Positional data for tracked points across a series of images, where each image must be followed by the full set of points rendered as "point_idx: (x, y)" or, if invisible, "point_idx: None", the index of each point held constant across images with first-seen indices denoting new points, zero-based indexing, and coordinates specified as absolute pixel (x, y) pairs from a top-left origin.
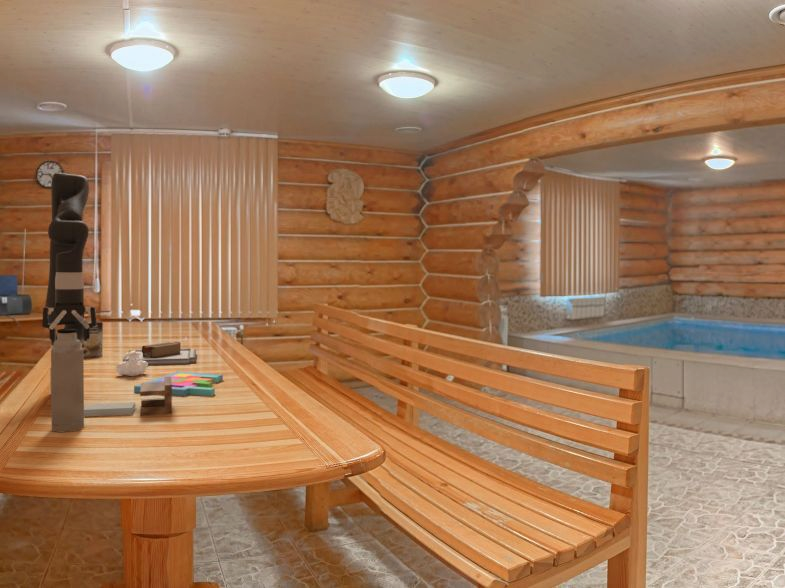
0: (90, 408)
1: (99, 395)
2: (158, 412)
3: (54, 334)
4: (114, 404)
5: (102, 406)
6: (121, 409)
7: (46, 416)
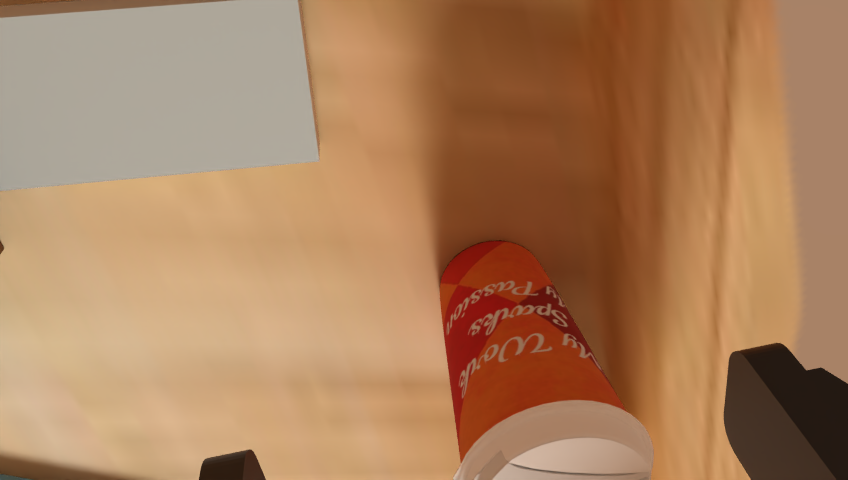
0: (246, 33)
1: (367, 452)
2: None
3: (816, 449)
4: (114, 139)
5: (179, 86)
6: (1, 15)
7: (537, 7)
